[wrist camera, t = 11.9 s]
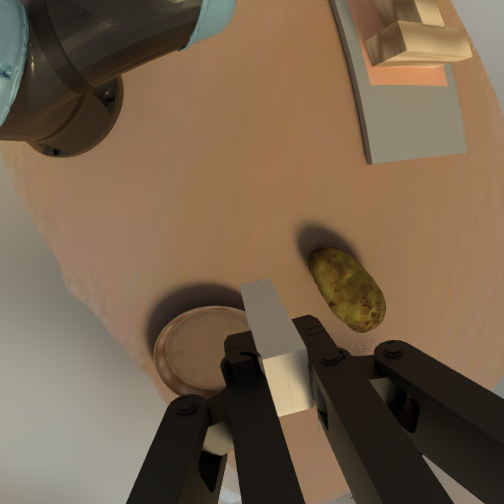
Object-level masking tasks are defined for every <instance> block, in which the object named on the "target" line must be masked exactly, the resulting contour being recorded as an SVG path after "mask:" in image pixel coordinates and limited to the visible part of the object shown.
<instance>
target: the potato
mask: <svg viewBox="0 0 504 504" xmlns="http://www.w3.org/2000/svg"><path fill="white" fill-rule="evenodd" d="M308 267H309V270H310V272H311V274H312V276H313V278H314V281H315V283H316V284H317V286H318V289H319V290H320V292H321V295H322V296H323V297H324V299H325V301H326V302H327V304H328V306H329V307H330V309H331V310H332V312H333V313H334V314H335V315H336V317H338V318H339V319H340V320H341V321H343V322H344V323H346V324H347V325H348V326H349V327H350V328H351V329H352V330H353V331H356V332H359V333H365V332H367V331H370V330H372V329H374V328H376V327H377V326H378V325H379V324H380V323H381V322H382V321H383V319H384V316H385V312H386V303H385V299H384V296H383V293H382V291H381V290H380V288H379V287H378V285H377V284H376V283H375V281H374V279H373V278H372V277H371V276H370V274H369V273H368V272H367V271H366V270H365V269H364V268H363V266H362V265H361V264H360V263H359V262H358V261H357V260H356V259H354V258H353V257H352V256H351V255H350V254H348V253H347V252H345V251H343V250H340V249H334V248H330V247H324V246H323V247H320V248H318V249H316V250H314V251H313V252H312V253H311V254H310V258H309V266H308Z"/></svg>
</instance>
